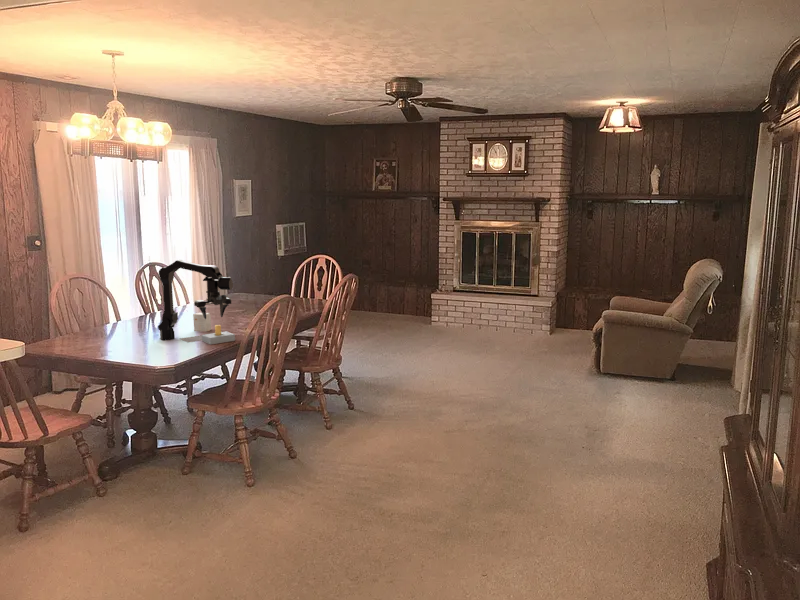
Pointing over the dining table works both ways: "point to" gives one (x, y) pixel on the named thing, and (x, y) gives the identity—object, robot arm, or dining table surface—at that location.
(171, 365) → the dining table surface
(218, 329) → the peg
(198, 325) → the small box
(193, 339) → the mat
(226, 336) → the socket block
